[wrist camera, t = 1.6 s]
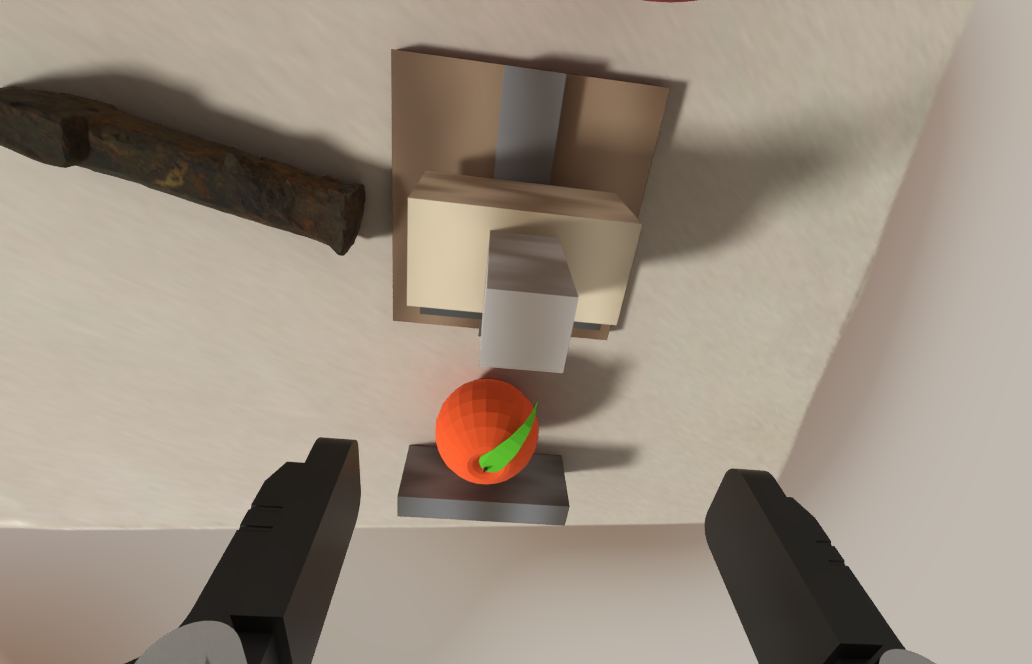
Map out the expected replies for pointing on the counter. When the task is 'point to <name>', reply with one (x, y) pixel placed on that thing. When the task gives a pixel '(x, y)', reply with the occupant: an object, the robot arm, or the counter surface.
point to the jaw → (519, 262)
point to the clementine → (487, 431)
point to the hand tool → (179, 165)
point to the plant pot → (670, 0)
